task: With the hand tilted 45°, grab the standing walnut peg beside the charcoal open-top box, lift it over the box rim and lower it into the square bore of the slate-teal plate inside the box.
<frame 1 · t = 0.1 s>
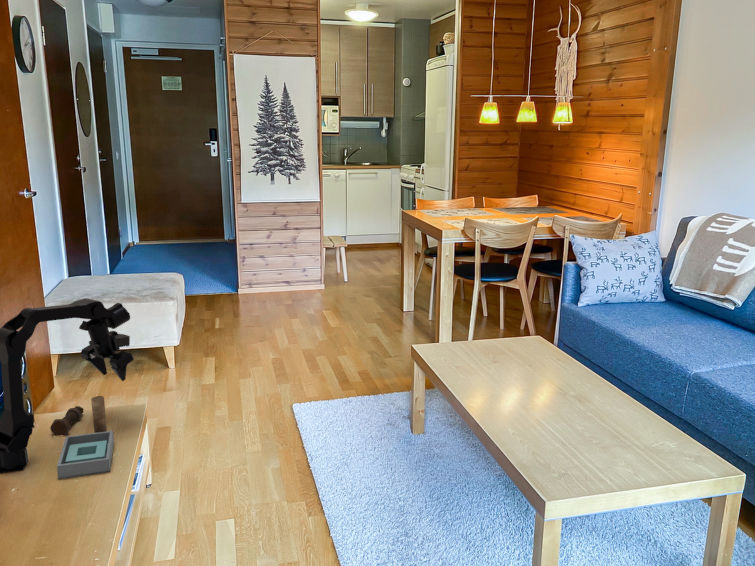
hand: (114, 377, 200), 15 cm above the table, tool pointing down, fingers open, 9 cm apart
bolt: (70, 426, 200), on the table
rim box: (87, 459, 179), on the table
peg: (101, 437, 193), on the table
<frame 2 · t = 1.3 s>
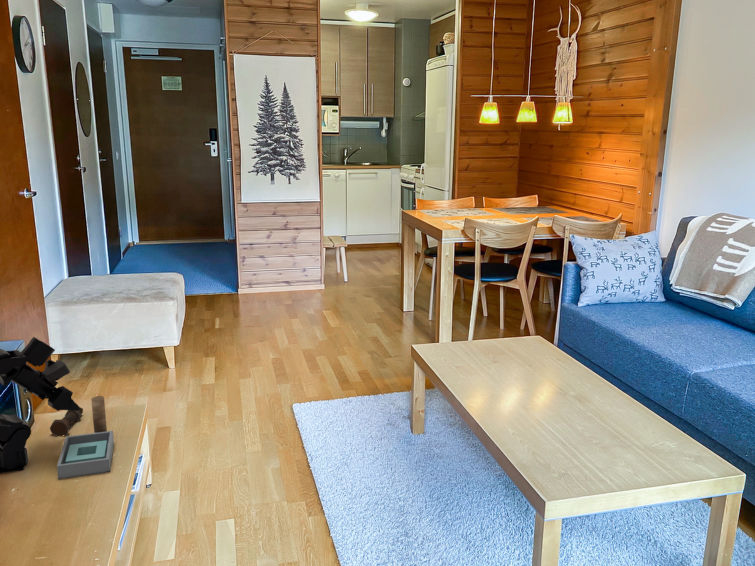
hand: (72, 404, 184), 13 cm above the table, tool tilted 45°, fingers open, 9 cm apart
nothing on the table moved.
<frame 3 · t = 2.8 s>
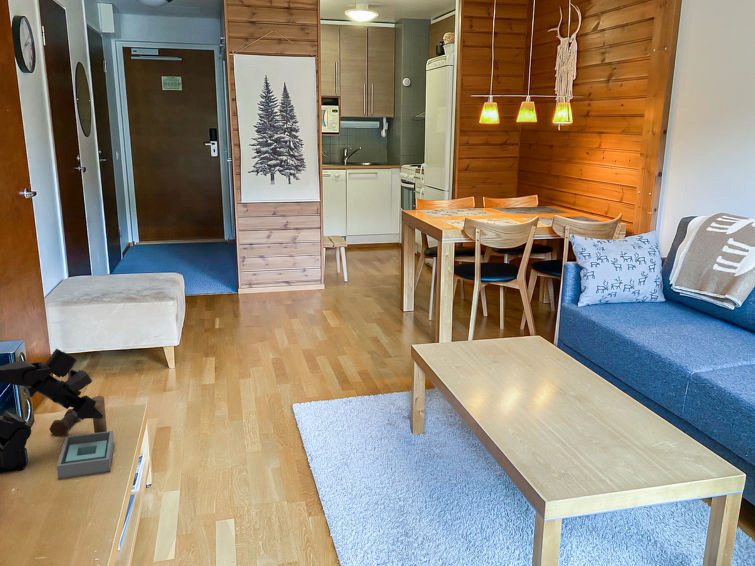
hand: (95, 412, 190), 9 cm above the table, tool tilted 45°, fingers open, 9 cm apart
nothing on the table moved.
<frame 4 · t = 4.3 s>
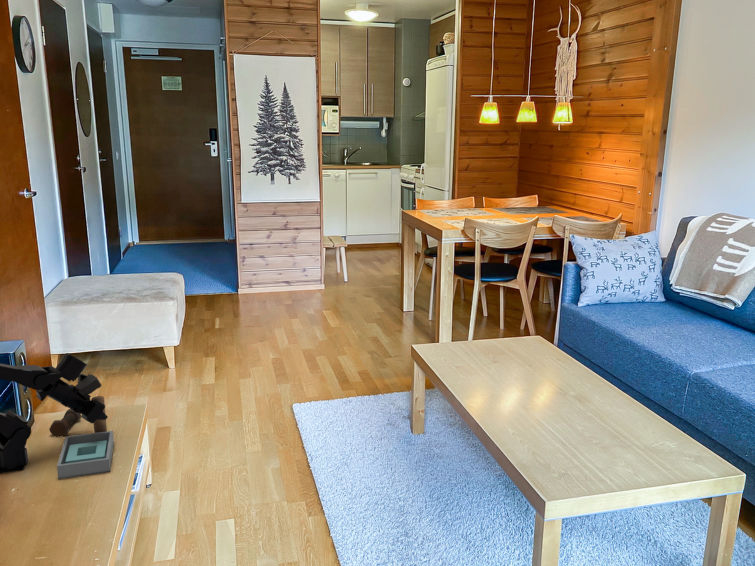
hand: (103, 416, 192), 7 cm above the table, tool tilted 45°, fingers closed on peg, 4 cm apart
peg: (101, 437, 193), on the table, touching gripper
everything else where it was.
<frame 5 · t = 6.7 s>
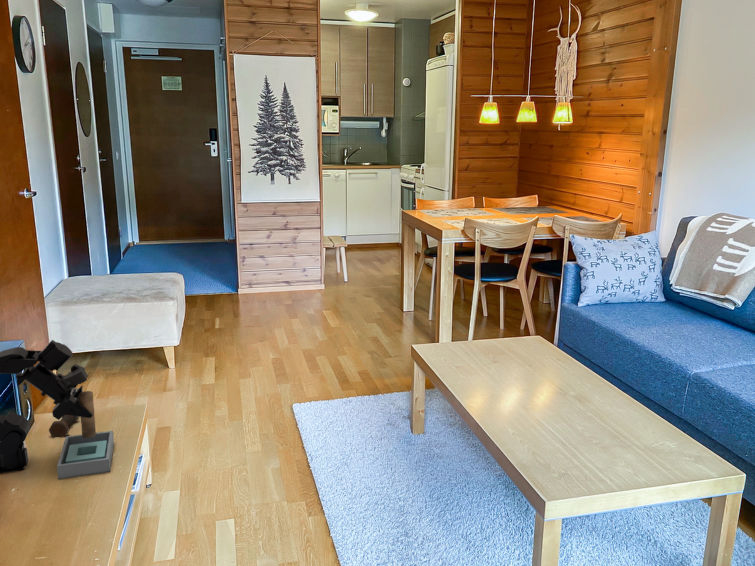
hand: (92, 413, 178), 13 cm above the table, tool tilted 45°, fingers closed on peg, 4 cm apart
peg: (89, 435, 179), point 7 cm above the table, touching gripper
when the fingers open (8 cm above the table, at t = 9.0 s): peg stays where it is, resting on rim box.
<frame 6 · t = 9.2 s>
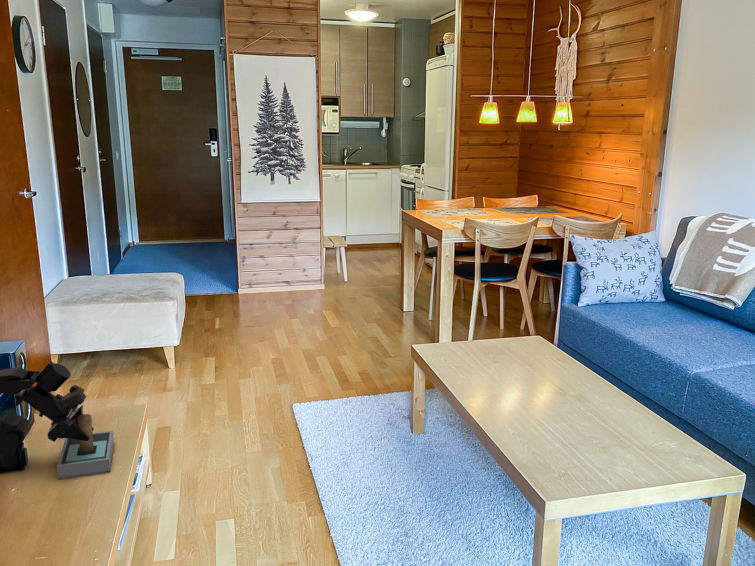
hand: (90, 435, 177), 8 cm above the table, tool tilted 45°, fingers open, 5 cm apart
peg: (87, 458, 179), point 1 cm above the table, touching rim box
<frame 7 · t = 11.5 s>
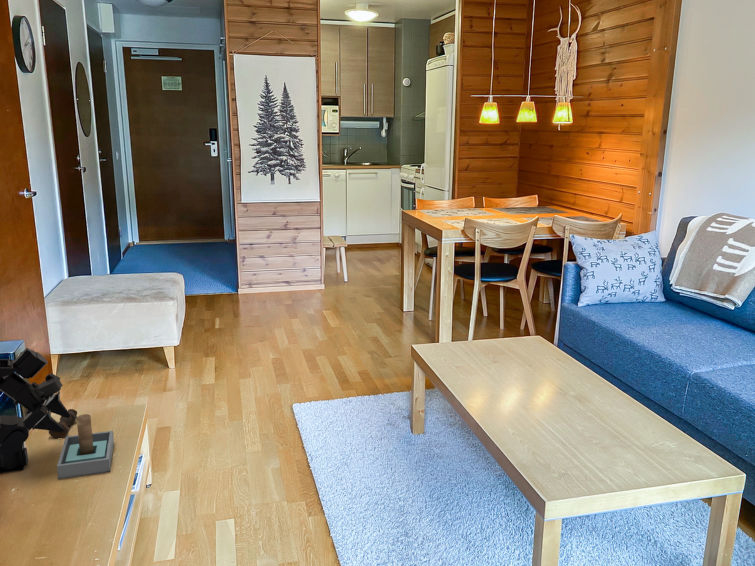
hand: (66, 423, 176), 11 cm above the table, tool tilted 45°, fingers open, 9 cm apart
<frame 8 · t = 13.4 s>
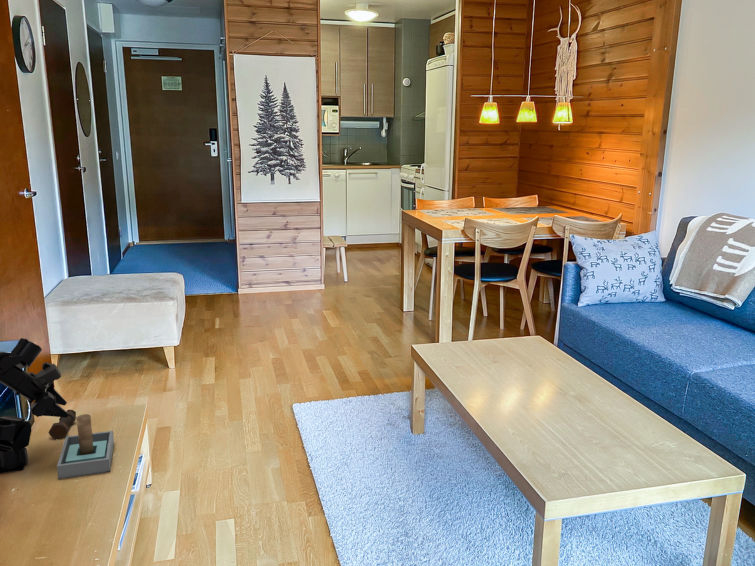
hand: (66, 409, 180), 14 cm above the table, tool tilted 45°, fingers open, 9 cm apart
at the end: peg 0.0 cm off-centre on the rim box, point 0.5 cm above the rim box's base; peg tilted 0°; the gripper is holding nothing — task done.
